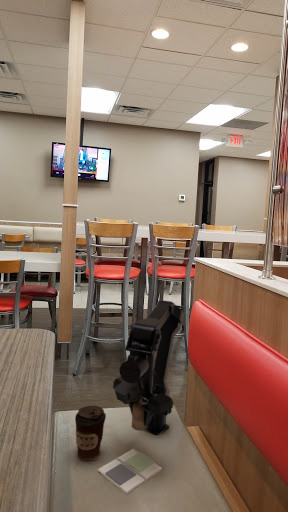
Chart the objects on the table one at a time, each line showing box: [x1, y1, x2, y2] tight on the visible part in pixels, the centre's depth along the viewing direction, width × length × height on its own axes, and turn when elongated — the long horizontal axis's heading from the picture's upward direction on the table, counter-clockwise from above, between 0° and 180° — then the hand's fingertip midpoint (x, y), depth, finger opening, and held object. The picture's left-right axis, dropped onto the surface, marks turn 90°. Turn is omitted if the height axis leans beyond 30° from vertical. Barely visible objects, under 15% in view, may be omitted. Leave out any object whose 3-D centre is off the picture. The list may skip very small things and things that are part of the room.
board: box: [97, 448, 163, 495], centre depth 102 cm, size 13×11×1 cm
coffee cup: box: [74, 405, 107, 462], centre depth 107 cm, size 9×8×13 cm
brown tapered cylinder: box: [131, 401, 148, 432], centre depth 106 cm, size 4×4×6 cm
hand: (140, 421), depth 107 cm, fingers closed on brown tapered cylinder, 4 cm apart
